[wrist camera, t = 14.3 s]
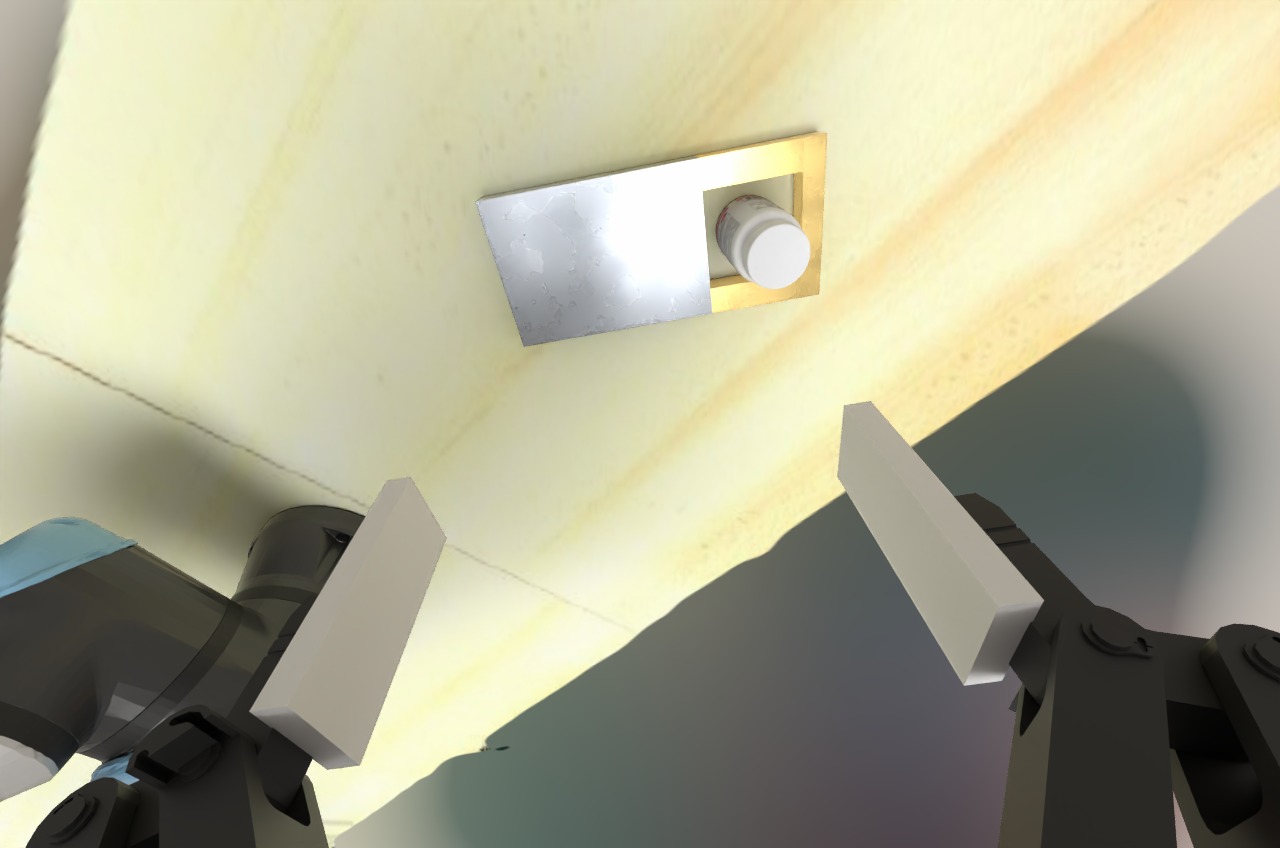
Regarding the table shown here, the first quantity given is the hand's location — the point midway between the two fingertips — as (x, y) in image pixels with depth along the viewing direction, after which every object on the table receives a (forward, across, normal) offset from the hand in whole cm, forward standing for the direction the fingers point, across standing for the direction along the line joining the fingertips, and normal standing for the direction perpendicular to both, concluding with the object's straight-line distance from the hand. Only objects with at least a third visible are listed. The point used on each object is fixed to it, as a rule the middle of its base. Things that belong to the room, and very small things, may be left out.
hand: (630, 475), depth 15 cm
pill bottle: (+27, +10, 0) cm, 29 cm away
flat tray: (+27, +3, 0) cm, 27 cm away
